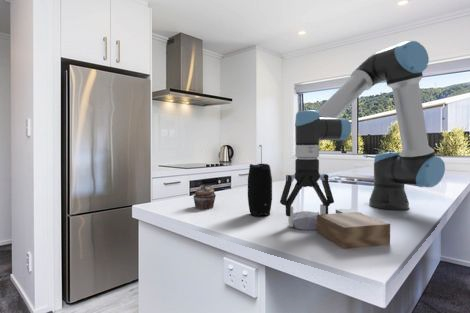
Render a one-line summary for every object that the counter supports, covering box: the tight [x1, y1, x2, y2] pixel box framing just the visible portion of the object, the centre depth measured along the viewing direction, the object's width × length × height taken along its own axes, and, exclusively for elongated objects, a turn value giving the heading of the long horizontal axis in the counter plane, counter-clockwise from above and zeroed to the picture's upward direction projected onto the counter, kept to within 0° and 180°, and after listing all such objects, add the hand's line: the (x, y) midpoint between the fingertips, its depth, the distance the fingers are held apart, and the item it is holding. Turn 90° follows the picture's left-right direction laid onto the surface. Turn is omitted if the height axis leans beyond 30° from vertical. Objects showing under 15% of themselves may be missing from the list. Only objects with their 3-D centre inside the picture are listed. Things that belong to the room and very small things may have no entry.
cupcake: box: [192, 184, 217, 211], centre depth 125 cm, size 10×10×10 cm
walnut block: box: [316, 211, 391, 250], centre depth 84 cm, size 14×14×6 cm
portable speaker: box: [247, 163, 273, 218], centre depth 112 cm, size 9×9×20 cm
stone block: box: [292, 210, 320, 231], centre depth 98 cm, size 12×5×10 cm
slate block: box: [335, 208, 363, 214], centre depth 97 cm, size 6×6×5 cm
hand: (306, 225), depth 96 cm, fingers closed on stone block, 10 cm apart
